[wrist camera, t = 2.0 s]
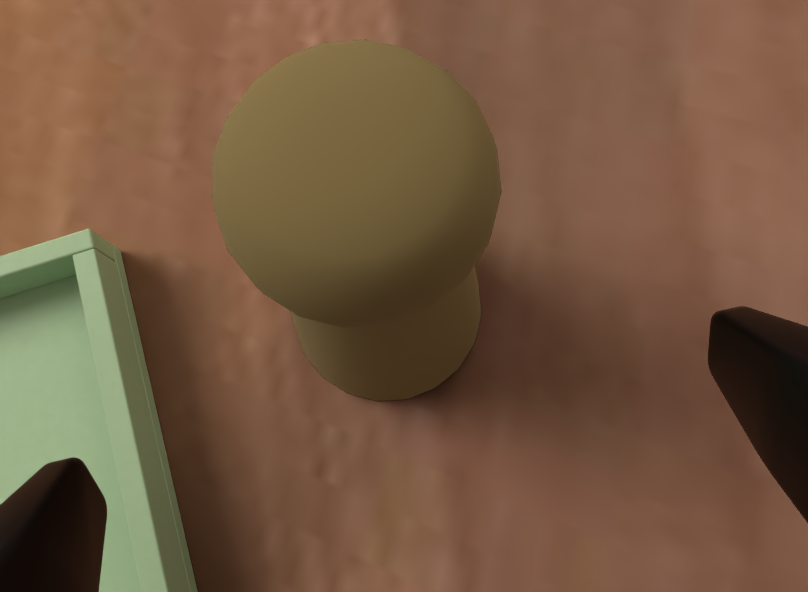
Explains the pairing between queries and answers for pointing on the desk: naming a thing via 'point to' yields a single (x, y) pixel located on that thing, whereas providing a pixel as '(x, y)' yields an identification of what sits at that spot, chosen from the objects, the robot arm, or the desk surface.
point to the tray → (88, 402)
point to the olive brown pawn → (362, 210)
